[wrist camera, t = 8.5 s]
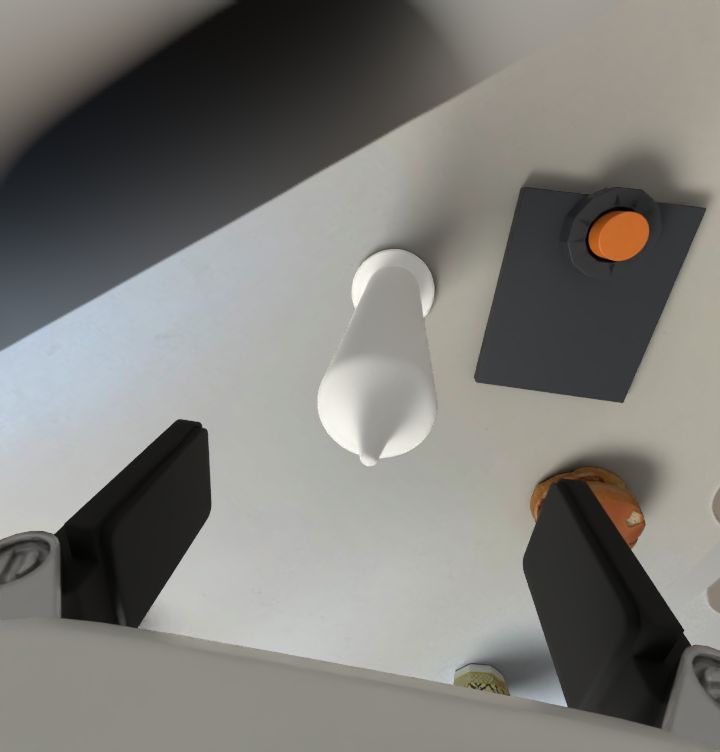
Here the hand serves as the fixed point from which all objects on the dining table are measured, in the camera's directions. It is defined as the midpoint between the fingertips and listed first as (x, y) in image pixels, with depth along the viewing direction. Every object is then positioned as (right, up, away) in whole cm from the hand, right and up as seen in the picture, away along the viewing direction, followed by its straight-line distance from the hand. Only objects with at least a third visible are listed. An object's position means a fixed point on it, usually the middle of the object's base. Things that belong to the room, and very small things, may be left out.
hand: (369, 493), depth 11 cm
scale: (+18, +9, +22) cm, 30 cm away
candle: (+3, +11, +24) cm, 26 cm away
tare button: (+18, +13, +18) cm, 29 cm away
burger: (+22, -10, +30) cm, 39 cm away
